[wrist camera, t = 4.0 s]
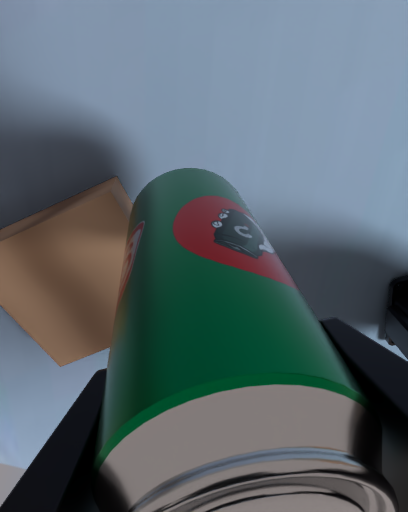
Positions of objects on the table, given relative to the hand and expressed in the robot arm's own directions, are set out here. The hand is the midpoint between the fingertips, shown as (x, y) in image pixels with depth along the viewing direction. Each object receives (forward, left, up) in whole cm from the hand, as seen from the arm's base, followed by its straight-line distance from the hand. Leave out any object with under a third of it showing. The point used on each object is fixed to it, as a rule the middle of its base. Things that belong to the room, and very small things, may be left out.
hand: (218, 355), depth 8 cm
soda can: (0, 0, -8) cm, 8 cm away
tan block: (+7, +4, -13) cm, 15 cm away
